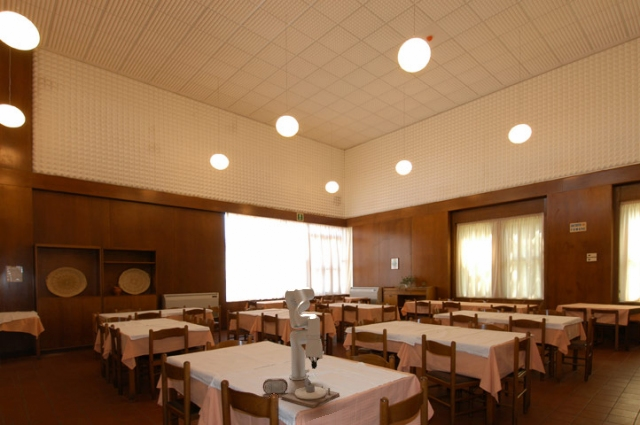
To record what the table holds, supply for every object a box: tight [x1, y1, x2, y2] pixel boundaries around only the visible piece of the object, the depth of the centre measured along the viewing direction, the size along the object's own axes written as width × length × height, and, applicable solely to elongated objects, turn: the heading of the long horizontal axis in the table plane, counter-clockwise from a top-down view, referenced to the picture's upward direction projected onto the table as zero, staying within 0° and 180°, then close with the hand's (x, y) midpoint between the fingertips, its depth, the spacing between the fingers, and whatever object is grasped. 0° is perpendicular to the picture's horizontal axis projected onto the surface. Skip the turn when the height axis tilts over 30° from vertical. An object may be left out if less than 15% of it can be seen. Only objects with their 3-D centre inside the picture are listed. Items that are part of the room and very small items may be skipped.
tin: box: [262, 378, 289, 395], centre depth 230 cm, size 15×3×8 cm, turn 92°
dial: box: [294, 378, 327, 400], centre depth 222 cm, size 18×18×6 cm
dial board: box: [280, 385, 340, 409], centre depth 221 cm, size 24×24×6 cm
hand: (314, 368), depth 231 cm, fingers closed
